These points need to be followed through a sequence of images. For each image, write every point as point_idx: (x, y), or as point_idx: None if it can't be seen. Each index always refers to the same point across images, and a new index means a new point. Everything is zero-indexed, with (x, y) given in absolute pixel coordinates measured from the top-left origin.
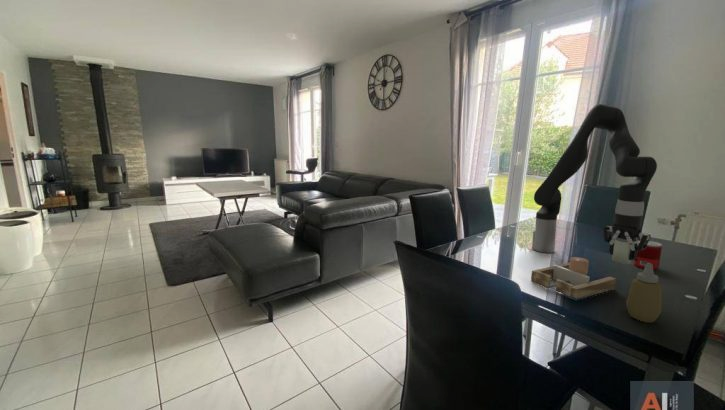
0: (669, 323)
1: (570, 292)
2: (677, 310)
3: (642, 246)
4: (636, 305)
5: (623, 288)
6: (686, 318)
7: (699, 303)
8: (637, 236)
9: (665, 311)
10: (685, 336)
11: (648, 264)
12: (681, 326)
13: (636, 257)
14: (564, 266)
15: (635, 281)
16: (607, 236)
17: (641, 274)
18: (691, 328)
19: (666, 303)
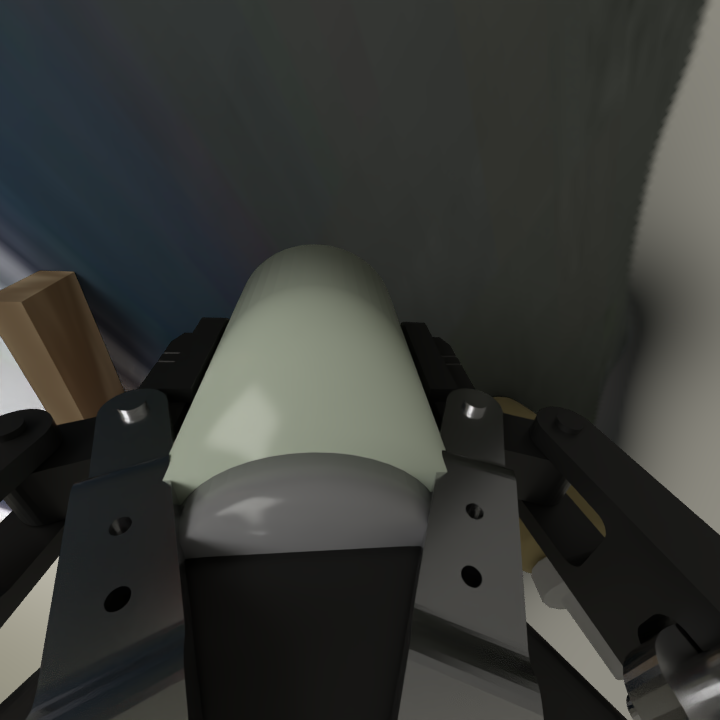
0: (556, 386)
1: None
2: (576, 257)
3: (588, 541)
4: None
5: (338, 214)
6: (602, 304)
7: (684, 17)
8: (582, 692)
9: (539, 310)
10: (592, 418)
11: (621, 677)
12: (585, 375)
13: (449, 353)
14: (64, 375)
15: (524, 570)
16: (22, 596)
17: (560, 605)
18: (610, 363)
19: (534, 217)
